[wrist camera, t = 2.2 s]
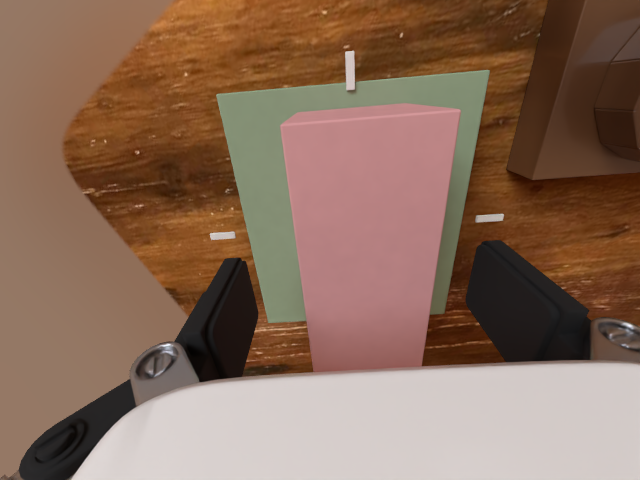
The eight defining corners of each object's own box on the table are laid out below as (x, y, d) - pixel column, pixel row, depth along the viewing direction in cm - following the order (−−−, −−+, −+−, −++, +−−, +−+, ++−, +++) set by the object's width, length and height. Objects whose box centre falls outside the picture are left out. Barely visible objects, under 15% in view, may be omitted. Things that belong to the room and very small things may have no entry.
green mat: (182, 72, 13) (159, 69, 12) (518, 41, 13) (552, 32, 11) (248, 315, 21) (241, 337, 19) (460, 304, 20) (474, 326, 18)
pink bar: (295, 112, 12) (277, 124, 7) (406, 103, 12) (466, 109, 7) (317, 310, 18) (315, 394, 13) (392, 306, 18) (421, 390, 13)
